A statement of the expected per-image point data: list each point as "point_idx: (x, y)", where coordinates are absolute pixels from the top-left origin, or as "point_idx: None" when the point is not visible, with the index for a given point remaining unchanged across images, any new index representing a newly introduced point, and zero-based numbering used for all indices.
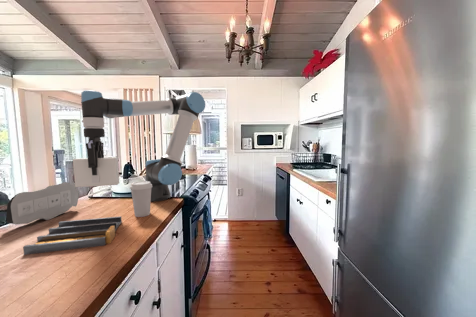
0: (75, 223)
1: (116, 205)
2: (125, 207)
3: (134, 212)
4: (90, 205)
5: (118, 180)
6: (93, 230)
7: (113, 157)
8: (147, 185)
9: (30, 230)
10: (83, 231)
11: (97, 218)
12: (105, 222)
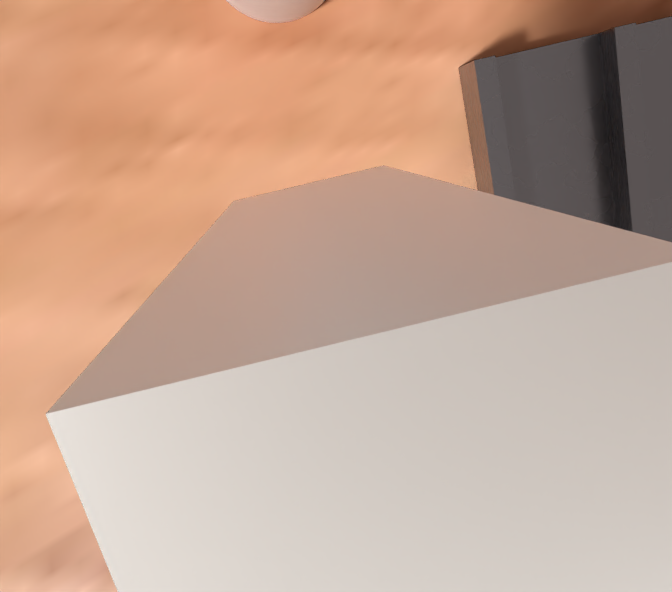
0: None
1: (4, 351)
2: (60, 229)
3: (318, 4)
4: (26, 573)
5: (276, 196)
6: (660, 173)
7: None
8: None
9: None
10: (663, 234)
11: None
12: (513, 172)
